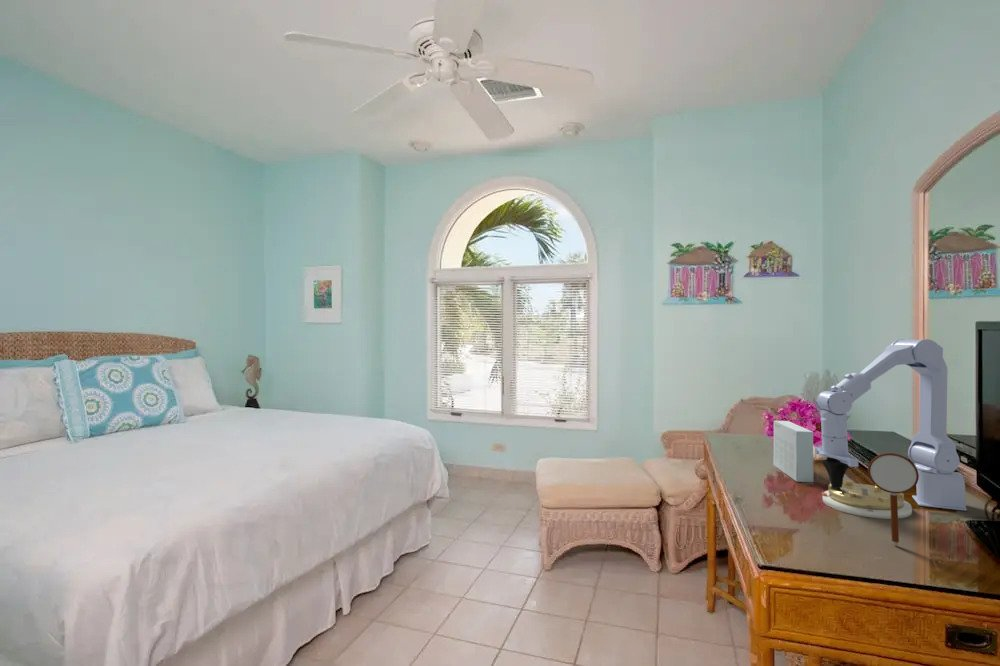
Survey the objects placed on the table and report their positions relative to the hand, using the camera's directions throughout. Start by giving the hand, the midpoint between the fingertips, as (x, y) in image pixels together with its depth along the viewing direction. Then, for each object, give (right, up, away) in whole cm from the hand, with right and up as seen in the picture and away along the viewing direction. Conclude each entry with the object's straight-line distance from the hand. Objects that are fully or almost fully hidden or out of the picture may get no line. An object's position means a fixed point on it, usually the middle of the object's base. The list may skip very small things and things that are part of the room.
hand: (836, 486), depth 131 cm
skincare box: (+6, -5, +30) cm, 31 cm away
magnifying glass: (-5, -5, -26) cm, 27 cm away
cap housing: (+7, -5, -1) cm, 8 cm away
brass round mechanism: (+7, -3, -1) cm, 7 cm away
